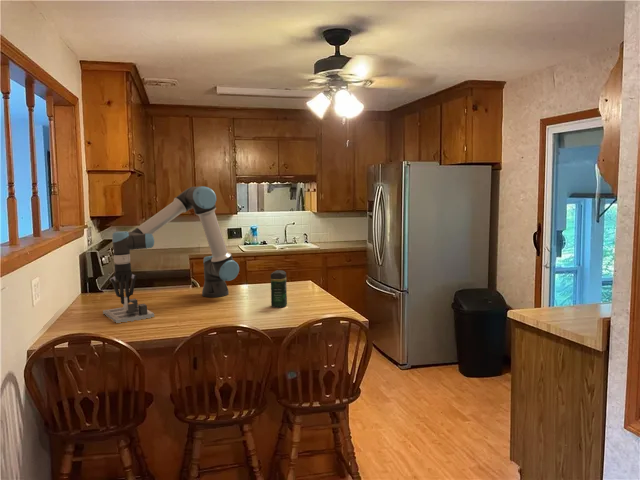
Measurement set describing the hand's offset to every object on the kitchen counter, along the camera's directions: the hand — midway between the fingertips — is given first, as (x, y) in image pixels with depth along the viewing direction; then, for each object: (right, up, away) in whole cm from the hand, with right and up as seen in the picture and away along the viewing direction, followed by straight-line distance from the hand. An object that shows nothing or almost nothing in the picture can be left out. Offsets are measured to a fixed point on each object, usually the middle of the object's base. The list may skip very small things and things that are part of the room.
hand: (125, 309), depth 253 cm
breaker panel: (+1, -3, +1) cm, 3 cm away
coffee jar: (+75, 0, +14) cm, 76 cm away
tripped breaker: (+2, -1, +1) cm, 2 cm away
